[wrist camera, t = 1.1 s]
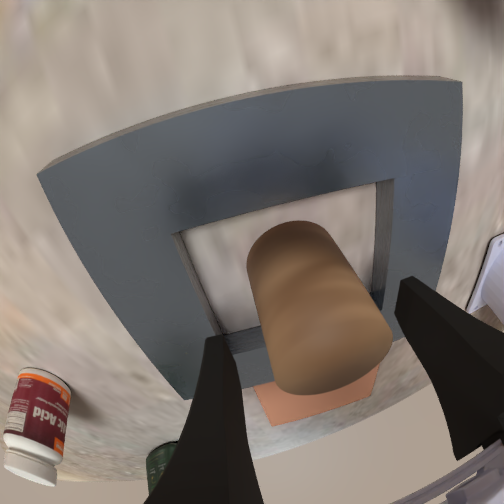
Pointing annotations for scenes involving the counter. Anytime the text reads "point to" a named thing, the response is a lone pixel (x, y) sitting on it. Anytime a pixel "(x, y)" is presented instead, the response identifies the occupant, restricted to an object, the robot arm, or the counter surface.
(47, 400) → the pill bottle
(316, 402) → the mat
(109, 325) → the counter surface
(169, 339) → the grey square frame
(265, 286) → the brown wooden cylinder
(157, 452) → the coffee jar
